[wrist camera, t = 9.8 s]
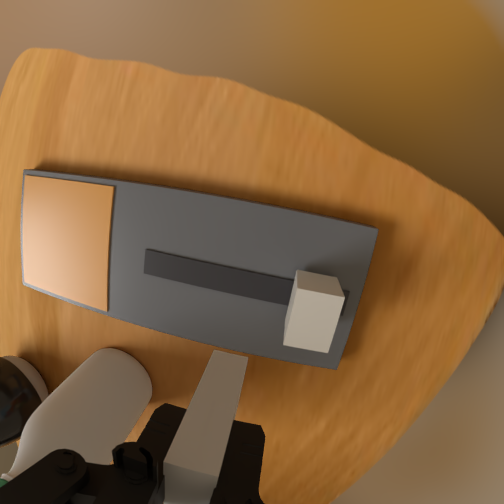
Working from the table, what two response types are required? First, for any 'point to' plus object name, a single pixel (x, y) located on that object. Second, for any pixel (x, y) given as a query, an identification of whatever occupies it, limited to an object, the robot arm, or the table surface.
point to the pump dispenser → (18, 396)
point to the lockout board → (187, 259)
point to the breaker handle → (313, 311)
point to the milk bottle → (87, 411)
